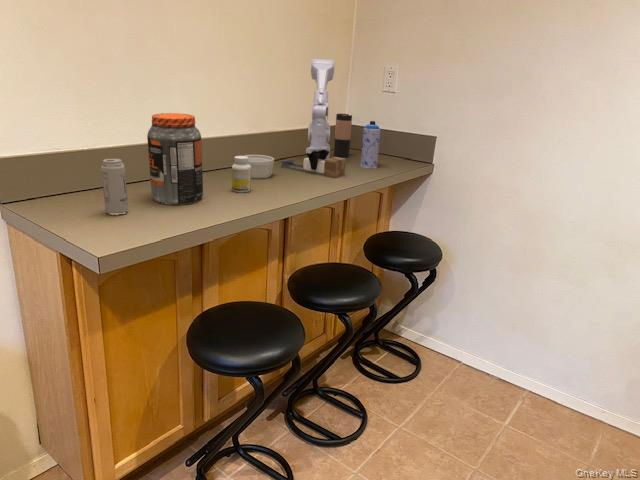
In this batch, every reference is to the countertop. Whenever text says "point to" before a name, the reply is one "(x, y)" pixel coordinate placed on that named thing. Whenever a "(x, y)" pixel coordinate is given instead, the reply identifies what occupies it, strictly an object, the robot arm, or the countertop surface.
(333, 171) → the socket block
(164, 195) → the supplement tub
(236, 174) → the pill bottle
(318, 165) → the banded cream case
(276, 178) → the countertop surface
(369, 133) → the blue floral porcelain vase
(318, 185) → the countertop surface
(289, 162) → the guide channel
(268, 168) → the ramekin
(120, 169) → the energy drink can
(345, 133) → the travel mug
